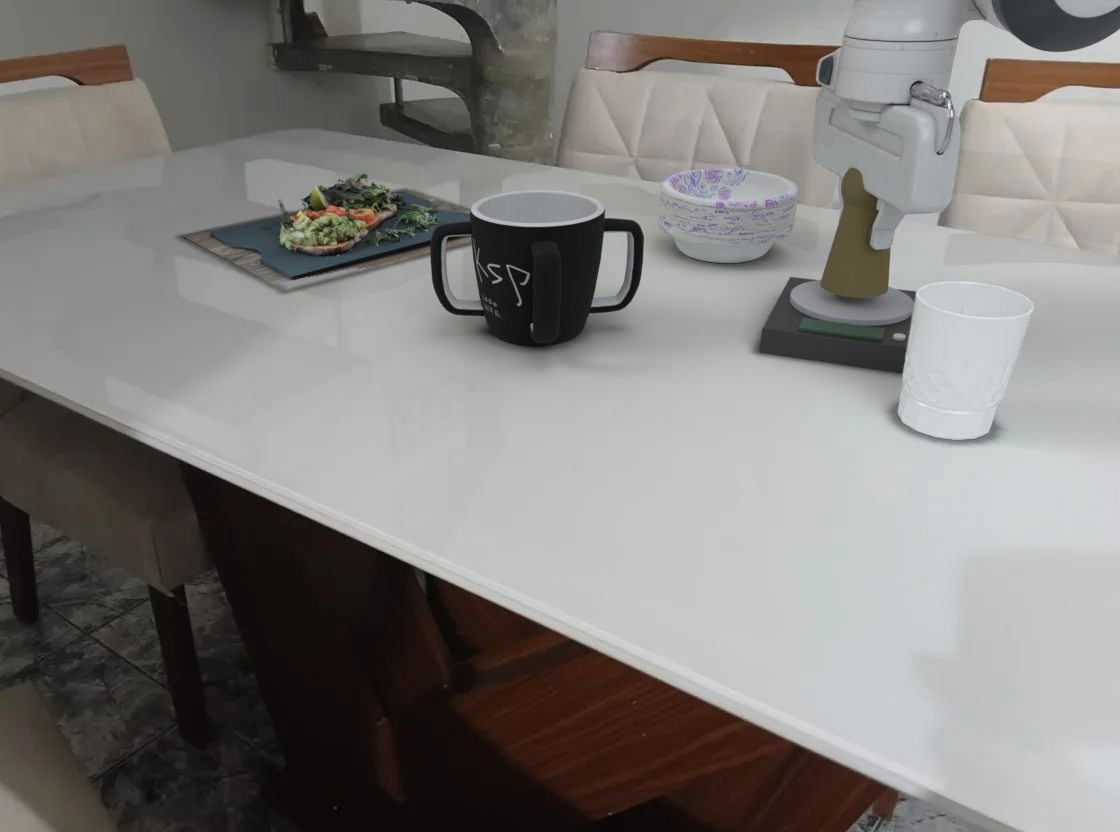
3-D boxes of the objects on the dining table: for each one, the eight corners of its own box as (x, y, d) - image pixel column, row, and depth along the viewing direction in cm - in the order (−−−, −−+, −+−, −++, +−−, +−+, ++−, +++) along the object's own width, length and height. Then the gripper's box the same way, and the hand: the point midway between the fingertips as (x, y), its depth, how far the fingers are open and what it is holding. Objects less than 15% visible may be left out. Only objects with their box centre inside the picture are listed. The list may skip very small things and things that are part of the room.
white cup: (871, 421, 76) (897, 299, 70) (916, 390, 80) (943, 273, 75) (974, 455, 71) (1009, 327, 66) (1015, 419, 75) (1051, 297, 70)
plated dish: (289, 293, 104) (281, 225, 100) (178, 240, 123) (168, 182, 119) (531, 231, 123) (531, 172, 119) (402, 194, 142) (399, 142, 138)
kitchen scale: (786, 299, 99) (790, 270, 98) (922, 315, 94) (929, 286, 93) (758, 353, 87) (763, 321, 86) (912, 375, 83) (920, 342, 81)
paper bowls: (733, 282, 104) (742, 208, 100) (629, 250, 114) (633, 182, 110) (816, 252, 112) (827, 183, 108) (711, 225, 122) (718, 161, 118)
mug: (419, 328, 94) (412, 204, 88) (539, 290, 103) (540, 175, 97) (532, 380, 83) (533, 243, 77) (655, 332, 92) (665, 206, 86)
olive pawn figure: (821, 295, 88) (842, 172, 82) (818, 273, 93) (837, 156, 87) (892, 299, 87) (917, 174, 81) (884, 277, 92) (908, 158, 86)
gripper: (998, 92, 72) (955, 272, 79) (876, 56, 89) (850, 206, 96) (916, 95, 71) (881, 276, 78) (809, 59, 89) (788, 209, 96)
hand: (863, 237), depth 88 cm, fingers closed on olive pawn figure, 4 cm apart
